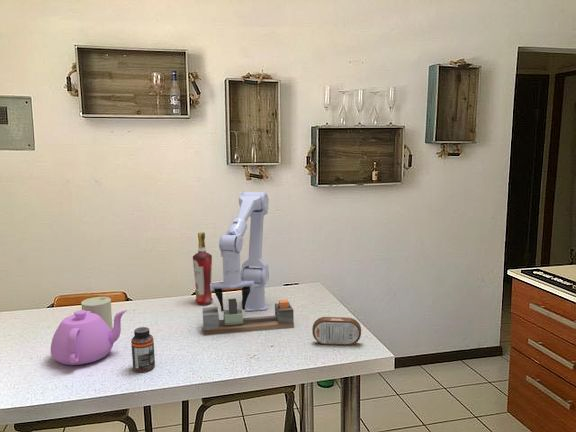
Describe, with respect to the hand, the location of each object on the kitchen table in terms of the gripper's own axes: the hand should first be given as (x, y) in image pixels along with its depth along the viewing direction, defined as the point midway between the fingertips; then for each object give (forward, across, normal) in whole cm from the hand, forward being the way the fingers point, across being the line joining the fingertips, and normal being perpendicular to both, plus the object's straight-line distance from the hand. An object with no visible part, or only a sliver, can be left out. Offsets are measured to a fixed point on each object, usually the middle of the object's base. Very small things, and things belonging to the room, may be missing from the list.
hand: (232, 309), depth 165 cm
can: (+7, -44, +4) cm, 45 cm away
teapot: (+7, -43, -13) cm, 45 cm away
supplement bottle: (+7, -27, -25) cm, 37 cm away
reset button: (+2, +17, 0) cm, 18 cm away
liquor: (+7, -9, +29) cm, 31 cm away
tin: (+7, +30, -21) cm, 37 cm away
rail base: (+6, +5, 0) cm, 8 cm away
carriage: (+5, 0, 0) cm, 5 cm away
